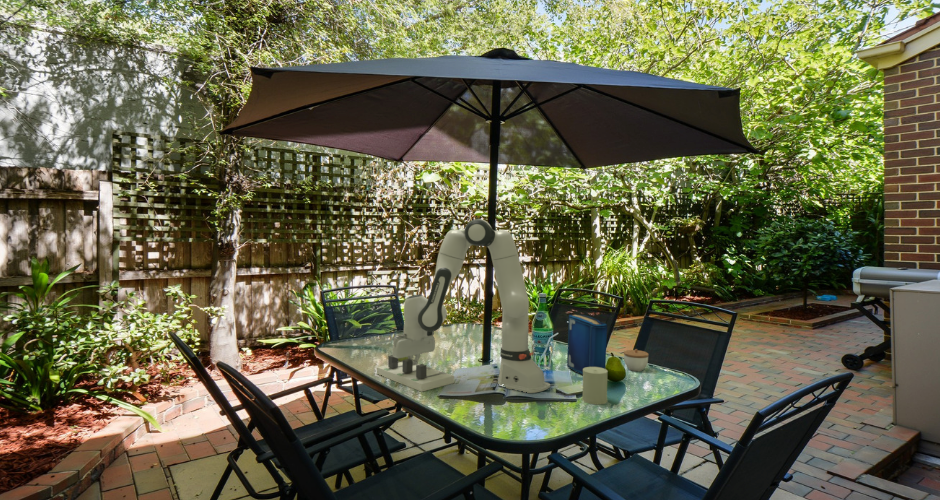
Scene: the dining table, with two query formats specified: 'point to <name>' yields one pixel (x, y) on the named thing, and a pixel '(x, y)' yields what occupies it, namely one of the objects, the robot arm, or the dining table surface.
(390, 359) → the switch
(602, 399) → the can
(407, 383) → the switch panel
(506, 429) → the dining table surface
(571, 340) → the book
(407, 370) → the middle switch
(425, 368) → the switch
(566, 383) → the dining table surface
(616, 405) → the dining table surface
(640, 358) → the lidded jar
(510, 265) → the robot arm
